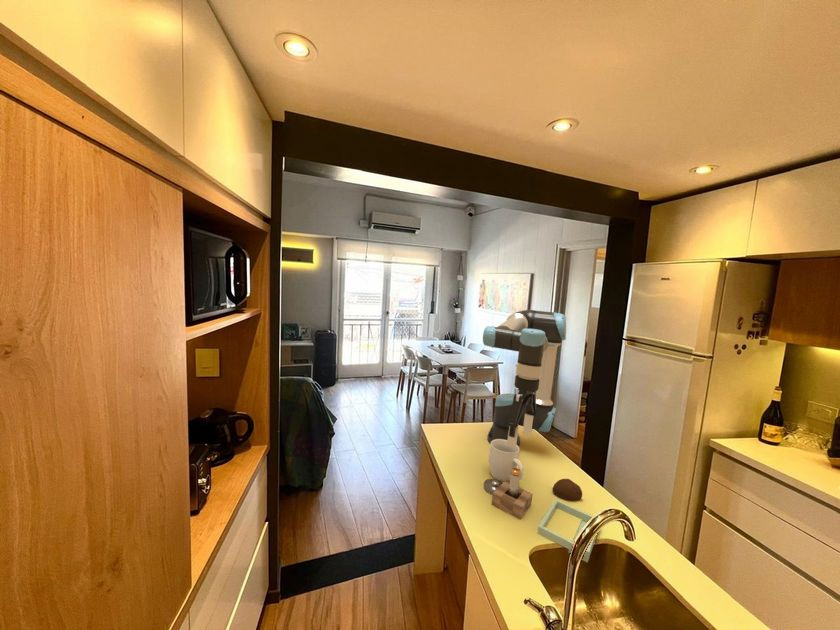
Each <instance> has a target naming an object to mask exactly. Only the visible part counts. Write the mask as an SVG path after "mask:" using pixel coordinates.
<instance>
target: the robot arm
mask: <svg viewBox="0 0 840 630" xmlns="http://www.w3.org/2000/svg"><path fill="white" fill-rule="evenodd" d="M566 339H567V318H566V315H565V314H563V313H559V312H554V311H553V312H552V311H544V310H533V309H524V310H520V311H516V312H514V313H511V314H510V315H508V317H507V318H506V320H505V321H504V322H502V323H501V324H499V325H498V326H494V325H493V326H489V325H487V326H486V327H485V328H484V330H483V334H482V343H483V345H484V346H486V347H490V348H492V349H493V348H496V349H501V350H507V351H512V352H517V353H518V354H517V360H516V361H517V363H515V367H516V370H515V371H516V372H515V374H516V375H515V377H514V384H513V385H514V387H515V388H516V389H517V390H518V392H517V393H500V394H499V395H497V396H496V398H495V403H494V412H493V418H492V421H493V422H492V425H491V427H490V429H489V431H488V434H487V438H486V439H487V441H488V443H489V445H490V444H491V441H493V440H496V439H503V440H507V445H509V446H512V447H514V448H516V445H517V446H518V447H519V448H520V446H521V444H520V443H521V440H520V434H519V428H520V427H522V433H524V434H527V435H532V432H533V431H532V430H534V431H537V432H544V433H548V432H550V430H551V428H552V424H553V420H554V418H555V413H556V410H557V408H556V407H554V402H553V400H552V399H551V395H552V387H553V381H554V373H555V368H556V367H555V366H556V360H557V351H558V347H559V346H561V345H562V344H563V341H566ZM519 426H520V427H519Z"/></svg>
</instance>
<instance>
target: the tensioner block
mask: <svg viewBox="0 0 840 630" xmlns="http://www.w3.org/2000/svg"><path fill="white" fill-rule="evenodd" d="M502 482H503V483H502V484H501V485H500V486H499V488H498V489H497V490H496V491H495V492H494V493H493V495H491V496H492V497H491V506H493V507H495V508H497V509H500V510H501V511H503V512H504V513H507V514H508V515H510V516H512V517H514V518H516V519H518V520H521V519H522V518H523V517H524V516H525V514H526V513H527V512H528V510H529V508H530V507H531V506H532V503H533V502H532V501H533V492H530V491H528V490H526V489H524V488H522V487H519V488H518V495H517V499H515V498H513V497H511V496H509V495H508V491H509V483H510V482H509V481H502Z"/></svg>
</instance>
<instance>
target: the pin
mask: <svg viewBox="0 0 840 630" xmlns="http://www.w3.org/2000/svg"><path fill="white" fill-rule="evenodd" d="M520 472H521V471H520V470H519V468H518V467H517V468H512V469H511V476H510V480H509V482H508V483H509V491H508V495H509V496H511V497H513V498H515V499H517V495H518V488H520V487H519V486H520V481H521V480H520ZM519 480H520V481H519Z"/></svg>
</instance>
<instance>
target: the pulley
mask: <svg viewBox="0 0 840 630" xmlns="http://www.w3.org/2000/svg"><path fill="white" fill-rule="evenodd" d="M503 482H504V481H500V480H498V479H496V478H487V479H485V480H484V482H483V490H484V491H485V492H486V493H487V494H489V495H491V496H493V493H494V492H495V491H496V490H497V489H498V488H499V486H500V485H501V484H502V483H503Z"/></svg>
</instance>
